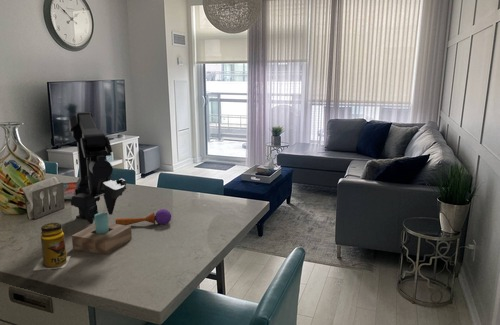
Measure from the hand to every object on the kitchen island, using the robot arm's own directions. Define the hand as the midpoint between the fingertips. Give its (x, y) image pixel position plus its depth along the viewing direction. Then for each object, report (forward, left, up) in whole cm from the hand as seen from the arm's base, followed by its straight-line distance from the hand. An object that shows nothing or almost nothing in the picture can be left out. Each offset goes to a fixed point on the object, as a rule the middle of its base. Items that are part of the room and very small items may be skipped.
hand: (101, 218), depth 123 cm
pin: (0, 0, -8) cm, 8 cm away
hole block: (0, 0, -9) cm, 9 cm away
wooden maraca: (+3, +19, -9) cm, 21 cm away
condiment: (-5, -16, -9) cm, 19 cm away
